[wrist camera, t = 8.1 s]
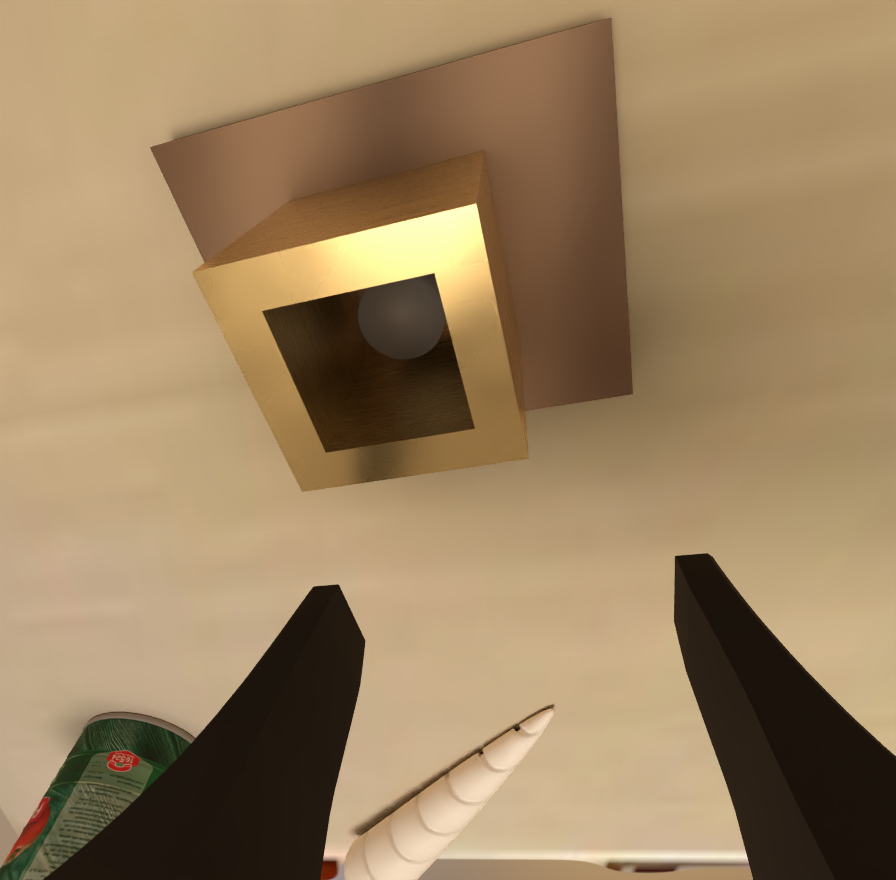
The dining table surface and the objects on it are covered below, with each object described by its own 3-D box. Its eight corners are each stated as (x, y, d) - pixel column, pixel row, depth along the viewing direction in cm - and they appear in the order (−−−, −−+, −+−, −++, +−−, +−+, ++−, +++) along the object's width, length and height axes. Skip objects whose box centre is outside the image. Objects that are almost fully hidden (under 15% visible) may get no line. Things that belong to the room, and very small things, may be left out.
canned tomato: (61, 713, 36) (-86, 937, 27) (171, 709, 34) (56, 943, 25) (124, 774, 40) (17, 983, 31) (225, 772, 39) (142, 991, 30)
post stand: (603, 19, 14) (635, 12, 10) (626, 376, 19) (651, 444, 16) (171, 141, 16) (87, 165, 13) (301, 428, 21) (265, 497, 18)
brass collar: (484, 150, 14) (476, 203, 10) (520, 342, 17) (528, 458, 13) (289, 200, 16) (191, 272, 11) (354, 373, 19) (302, 491, 14)
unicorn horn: (606, 722, 32) (621, 817, 28) (401, 844, 45) (392, 922, 41) (539, 693, 31) (545, 787, 27) (348, 827, 43) (333, 905, 39)
